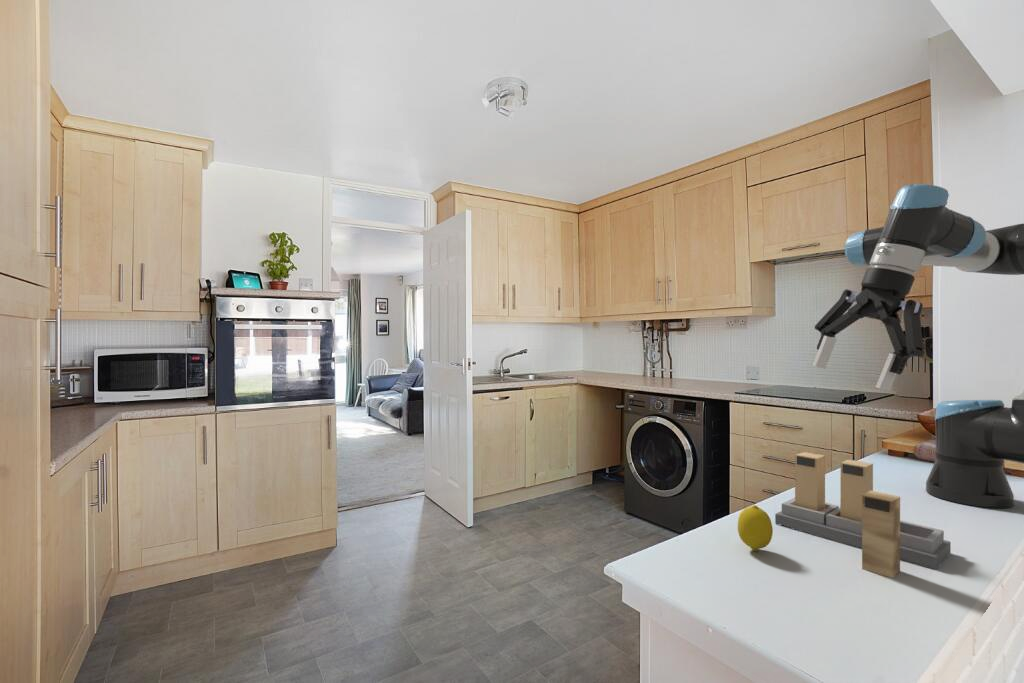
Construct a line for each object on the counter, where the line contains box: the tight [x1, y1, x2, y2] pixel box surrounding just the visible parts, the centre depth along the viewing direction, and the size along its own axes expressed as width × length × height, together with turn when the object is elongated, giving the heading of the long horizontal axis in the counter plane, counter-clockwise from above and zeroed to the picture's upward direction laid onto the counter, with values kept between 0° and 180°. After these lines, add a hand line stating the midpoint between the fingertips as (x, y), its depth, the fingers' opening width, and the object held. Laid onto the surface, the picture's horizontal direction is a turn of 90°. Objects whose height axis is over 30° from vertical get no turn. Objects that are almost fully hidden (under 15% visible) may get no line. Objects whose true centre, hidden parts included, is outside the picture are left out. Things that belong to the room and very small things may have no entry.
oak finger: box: [861, 490, 901, 579], centre depth 79 cm, size 4×4×12 cm
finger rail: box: [774, 451, 952, 571], centre depth 92 cm, size 10×25×14 cm, turn 38°
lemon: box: [737, 504, 774, 552], centre depth 86 cm, size 6×6×8 cm
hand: (848, 377), depth 95 cm, fingers open, 13 cm apart
